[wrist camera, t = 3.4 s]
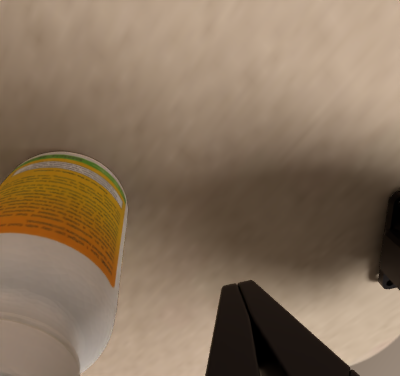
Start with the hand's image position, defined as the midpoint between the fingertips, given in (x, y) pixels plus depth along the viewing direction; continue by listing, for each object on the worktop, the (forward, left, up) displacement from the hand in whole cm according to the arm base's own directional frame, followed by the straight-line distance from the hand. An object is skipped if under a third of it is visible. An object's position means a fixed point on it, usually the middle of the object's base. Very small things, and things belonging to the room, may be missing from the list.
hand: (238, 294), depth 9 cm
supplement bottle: (+6, 0, -8) cm, 10 cm away
